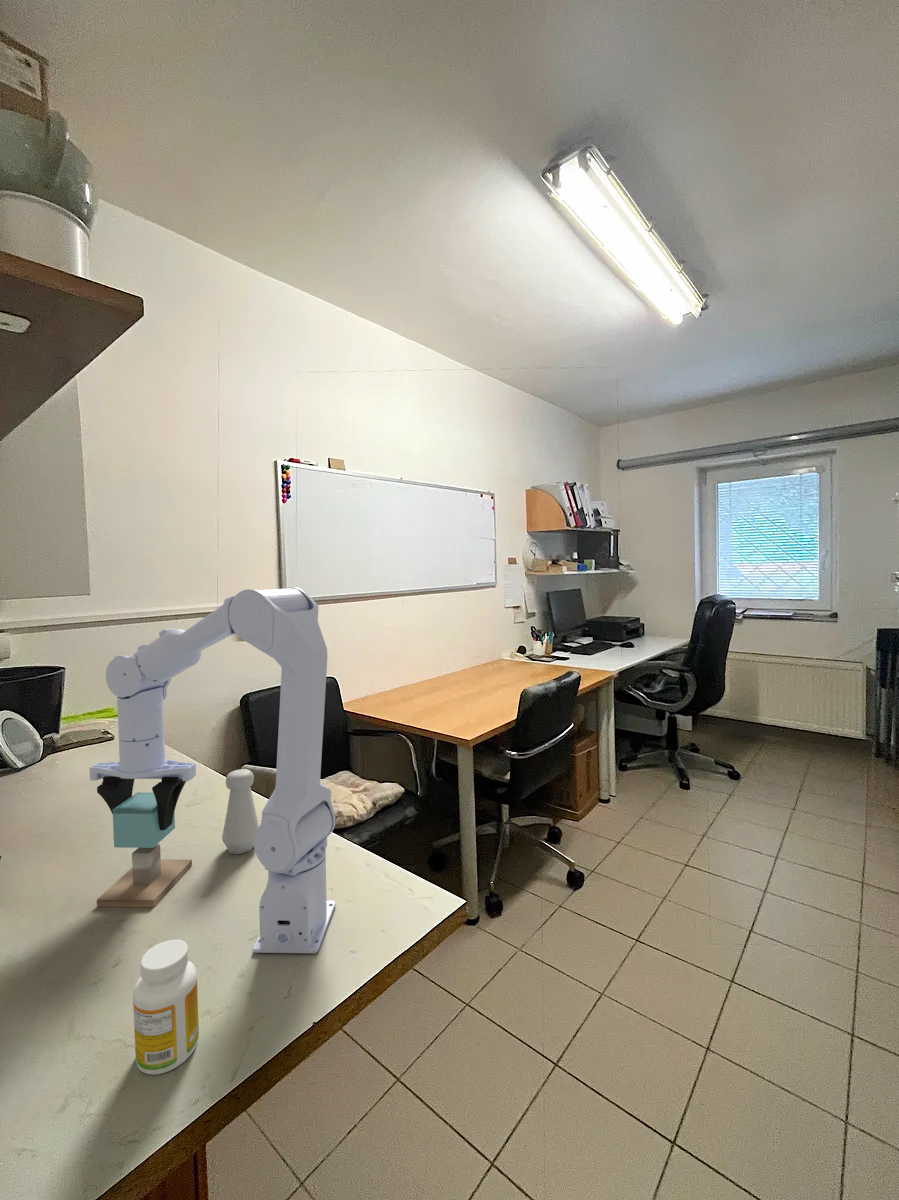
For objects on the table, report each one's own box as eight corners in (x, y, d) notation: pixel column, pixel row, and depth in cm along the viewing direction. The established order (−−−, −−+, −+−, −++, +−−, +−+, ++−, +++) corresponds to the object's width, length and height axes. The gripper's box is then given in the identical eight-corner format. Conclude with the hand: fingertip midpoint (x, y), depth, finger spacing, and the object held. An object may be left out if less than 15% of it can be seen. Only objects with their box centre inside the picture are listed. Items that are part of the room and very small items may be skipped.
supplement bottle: (182, 1016, 54) (179, 926, 53) (209, 1044, 51) (206, 949, 50) (125, 1055, 49) (121, 958, 49) (151, 1089, 46) (147, 985, 46)
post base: (154, 907, 71) (152, 868, 71) (97, 906, 71) (95, 867, 71) (191, 865, 81) (190, 831, 81) (141, 865, 81) (140, 831, 81)
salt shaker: (246, 859, 83) (244, 780, 82) (214, 855, 84) (212, 777, 83) (266, 841, 89) (264, 766, 88) (236, 837, 90) (234, 764, 89)
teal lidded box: (153, 847, 73) (151, 809, 73) (114, 847, 73) (112, 809, 73) (175, 828, 79) (173, 792, 78) (138, 827, 79) (137, 792, 78)
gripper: (205, 727, 79) (207, 814, 80) (111, 727, 79) (114, 813, 80) (179, 742, 72) (183, 837, 73) (77, 742, 72) (81, 837, 73)
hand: (145, 826), depth 76 cm, fingers closed on teal lidded box, 6 cm apart
